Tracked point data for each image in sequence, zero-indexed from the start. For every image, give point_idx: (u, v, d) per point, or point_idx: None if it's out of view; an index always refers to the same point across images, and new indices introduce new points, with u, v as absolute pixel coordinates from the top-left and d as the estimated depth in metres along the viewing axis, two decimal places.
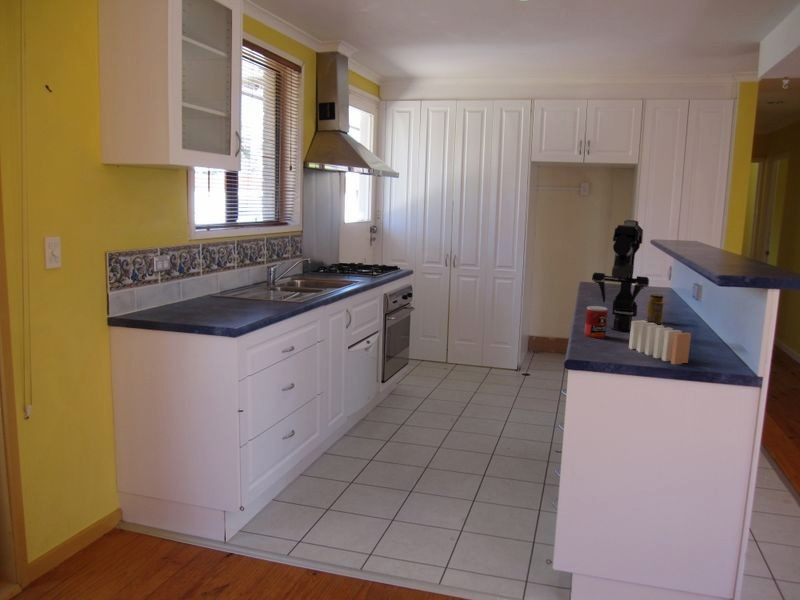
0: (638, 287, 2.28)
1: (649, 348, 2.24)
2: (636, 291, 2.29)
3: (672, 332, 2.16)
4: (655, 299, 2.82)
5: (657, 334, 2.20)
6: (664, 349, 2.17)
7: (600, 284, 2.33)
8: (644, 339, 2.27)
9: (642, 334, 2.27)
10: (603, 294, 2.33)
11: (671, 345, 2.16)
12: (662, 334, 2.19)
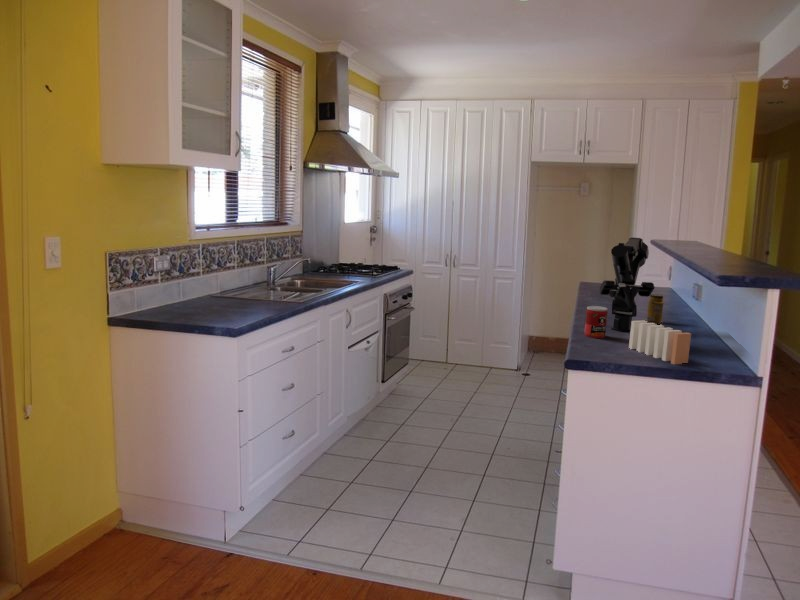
0: (620, 296, 2.45)
1: (649, 348, 2.24)
2: None
3: (672, 332, 2.16)
4: (655, 299, 2.82)
5: (657, 334, 2.20)
6: (664, 349, 2.17)
7: None
8: (644, 339, 2.27)
9: (642, 334, 2.27)
10: None
11: (671, 345, 2.16)
12: (662, 334, 2.19)
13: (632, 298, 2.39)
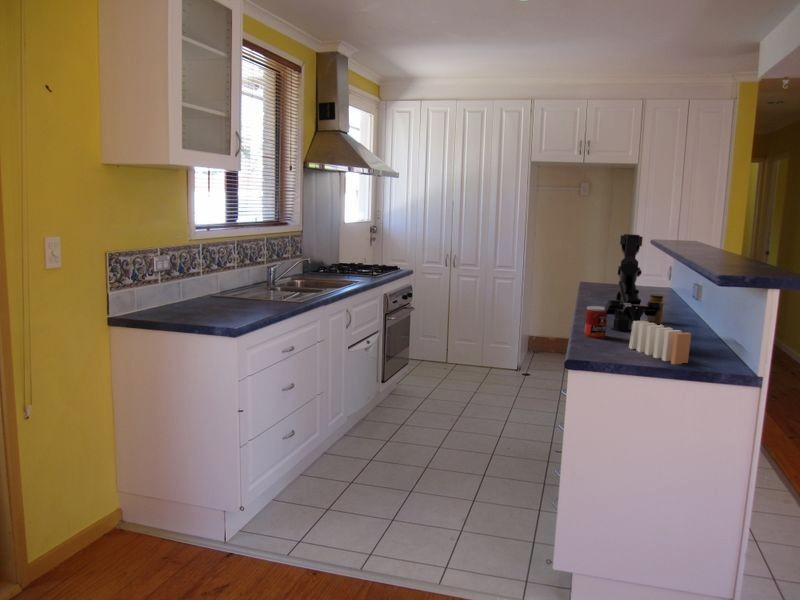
0: (625, 316, 2.38)
1: (649, 348, 2.24)
2: None
3: (672, 332, 2.16)
4: (655, 299, 2.82)
5: (657, 334, 2.20)
6: (664, 349, 2.17)
7: None
8: (644, 339, 2.27)
9: (642, 334, 2.27)
10: None
11: (671, 345, 2.16)
12: (662, 334, 2.19)
13: (638, 318, 2.33)
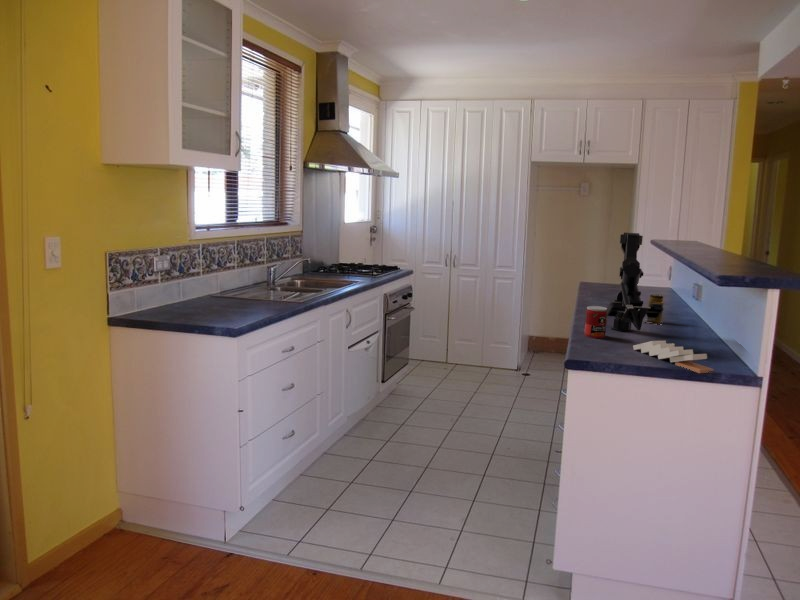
0: (628, 318, 2.36)
1: (654, 355, 2.21)
2: None
3: (696, 359, 2.06)
4: (655, 299, 2.82)
5: (674, 353, 2.12)
6: (678, 358, 2.11)
7: None
8: None
9: None
10: None
11: (686, 360, 2.10)
12: (678, 355, 2.12)
13: (640, 320, 2.31)
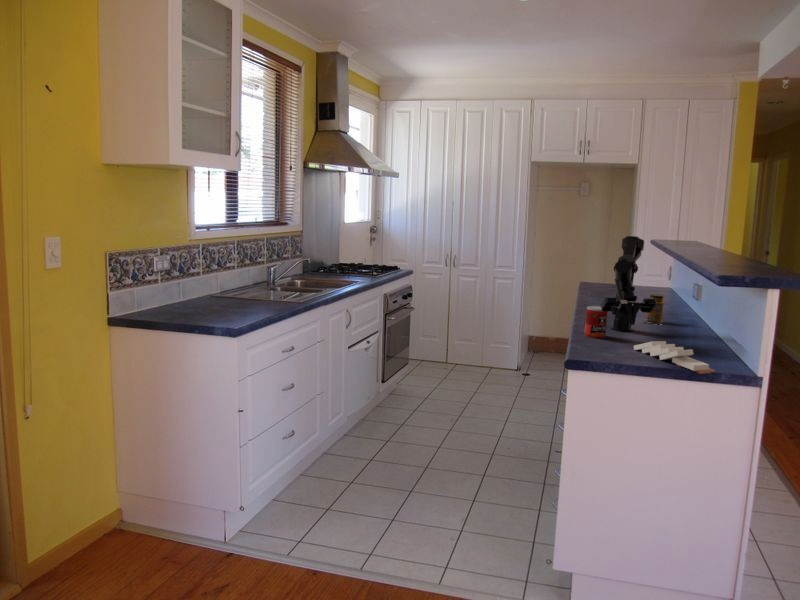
0: None
1: (655, 355, 2.20)
2: None
3: None
4: (655, 299, 2.82)
5: (673, 354, 2.10)
6: (680, 362, 2.09)
7: None
8: None
9: (654, 350, 2.21)
10: None
11: None
12: None
13: (634, 315, 2.36)
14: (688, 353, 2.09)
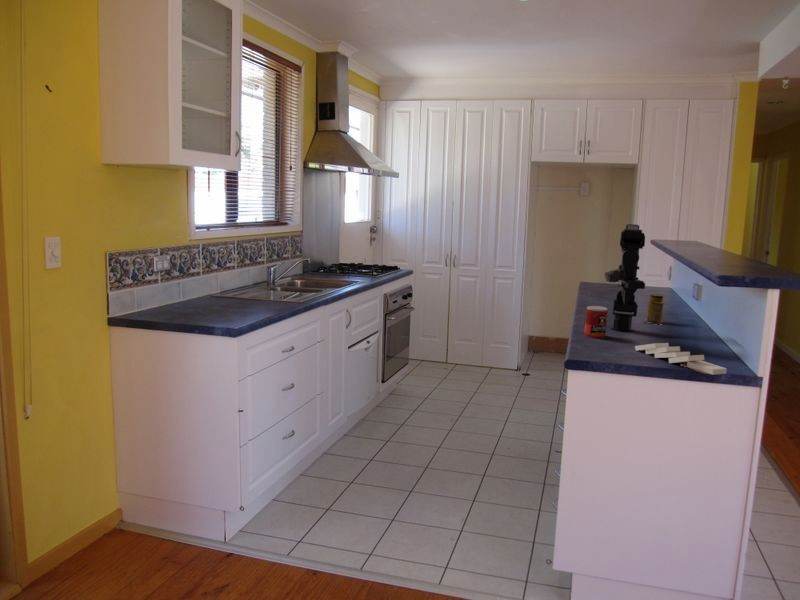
0: (622, 288, 2.45)
1: (660, 357, 2.19)
2: (624, 292, 2.45)
3: None
4: (655, 299, 2.82)
5: (684, 359, 2.07)
6: (696, 366, 2.05)
7: (619, 287, 2.48)
8: None
9: (659, 352, 2.20)
10: (622, 296, 2.48)
11: None
12: None
13: None
14: (699, 359, 2.06)
